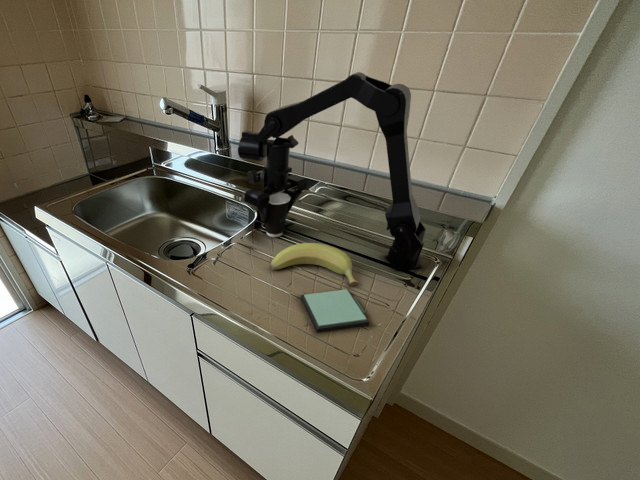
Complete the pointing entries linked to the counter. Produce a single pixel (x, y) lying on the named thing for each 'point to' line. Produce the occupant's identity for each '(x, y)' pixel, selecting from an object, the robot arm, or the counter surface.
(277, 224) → the dixie cup
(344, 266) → the banana
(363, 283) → the counter surface
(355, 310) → the scale
